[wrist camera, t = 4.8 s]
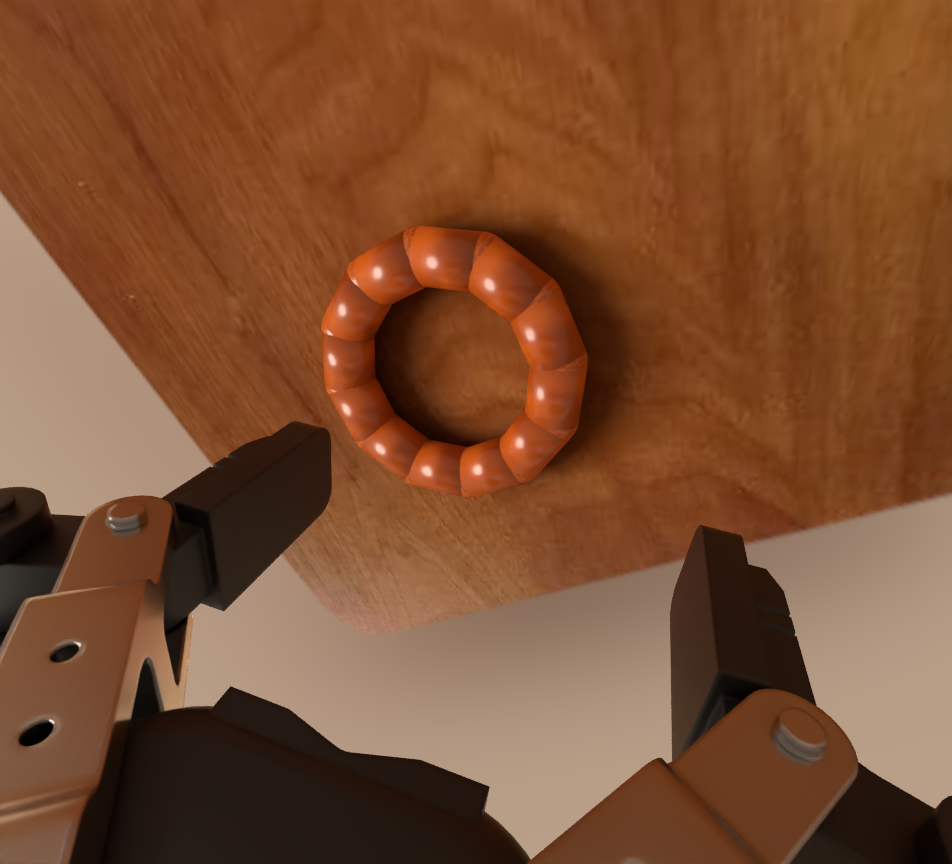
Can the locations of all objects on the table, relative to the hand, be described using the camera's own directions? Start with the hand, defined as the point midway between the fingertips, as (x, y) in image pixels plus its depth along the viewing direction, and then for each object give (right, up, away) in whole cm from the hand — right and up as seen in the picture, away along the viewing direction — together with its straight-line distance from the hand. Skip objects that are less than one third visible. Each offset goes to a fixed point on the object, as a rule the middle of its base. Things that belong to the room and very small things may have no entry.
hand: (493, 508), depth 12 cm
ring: (-1, +4, +7) cm, 8 cm away
